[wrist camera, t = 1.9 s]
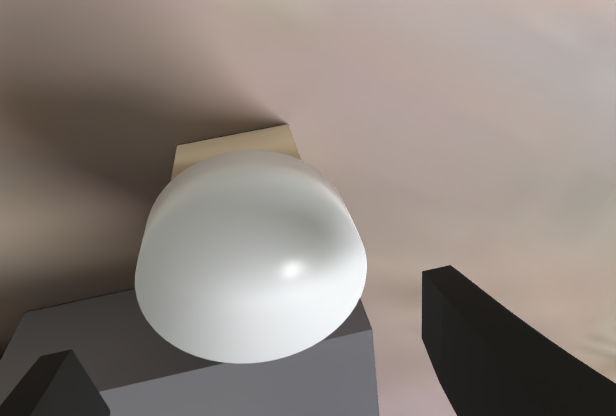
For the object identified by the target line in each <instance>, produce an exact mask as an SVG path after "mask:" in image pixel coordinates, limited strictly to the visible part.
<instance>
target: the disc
mask: <svg viewBox="0 0 616 416" xmlns="http://www.w3.org/2000/svg"><path fill="white" fill-rule="evenodd" d="M366 274H367V260H366V254H365V249H364V246H363V243H362V241H361V238H360V236H359V234H358V231H357V229H356V227H355V225H354V223H353V221H352V218H351V216H350V214H349V212H348V210H347V208H346V205H345V203H344V201H343V199H342V197H341V196H340V194H339V192H338V190H337V189H336V188H335V186H334V185H333V184H332V182H331V181H330V180H329V179H328V178H327V177H325V176H324V175H323V174H322V173H321V172H320V171H318V170H317V169H316V168H314V167H313V166H311V165H309V164H307V163H306V162H304V161H302V160H300V159H297V158H294V157H292V156H289V155H286V154H282V153H278V152H273V151H264V150H240V151H232V152H227V153H223V154H219V155H215V156H212V157H209V158H207V159H204V160H202V161H199V162H198V163H196V164H194V165H192V166H190V167H189V168H187V169H185V170H184V171H183V172H181V173H180V174H179V175H177V176H176V177H175V178H174V179H173V180H172V181H171V182H170V183H169V184H168V185H167V186H166V187H165V188H164V189H163V190H162V192H161V193H160V194H159V196H158V197H157V199H156V201H155V202H154V204H153V206H152V208H151V211H150V214H149V216H148V219H147V223H146V228H145V232H144V236H143V240H142V244H141V248H140V253H139V257H138V261H137V266H136V272H135V291H136V296H137V300H138V303H139V306H140V309H141V311H142V313H143V314H144V316H145V318H146V320H147V321H148V322H149V324H150V325H151V326H152V327H153V329H154V330H155V331H156V332H157V333H158V334H159V335H160V336H161V337H163V338H164V339H165V340H166V341H168V342H169V343H171V344H172V345H174V346H175V347H177V348H179V349H181V350H183V351H185V352H187V353H189V354H192V355H194V356H197V357H200V358H204V359H207V360H212V361H217V362H224V363H235V364H241V363H259V362H266V361H272V360H277V359H280V358H284V357H287V356H290V355H293V354H296V353H298V352H301V351H303V350H305V349H307V348H309V347H311V346H313V345H315V344H316V343H318V342H320V341H321V340H323V339H324V338H326V337H327V336H328V335H330V334H331V333H332V332H334V331H335V330H336V329H337V328H338V327H339V326H340V325H341V324H342V323H343V322H344V321H345V320H346V318H347V317H348V316H349V315H350V314H351V312H352V311H353V309H354V308H355V306H356V304H357V302H358V300H359V298H360V296H361V294H362V291H363V288H364V285H365V280H366Z"/></svg>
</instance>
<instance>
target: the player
mask: <svg viewBox="0 0 616 416" xmlns="http://www.w3.org/2000/svg"><path fill="white" fill-rule="evenodd" d="M70 349H72V350H73V352H74V353H75V355H76V356H77V358H78V360H79V361H80V363H81V364H82V366H83V368H84V369H85V371H86V372H87V374H88V375H89V377H90V379H91V380H92V382H93V383H94V385H95V387H96V388H97V390H98V391H99V393H100V395H101V396H102V398H103V399H104V401H105V402H106V404H107V406H108V407H109V409H110V416H379V407H378V395H377V383H376V370H375V358H374V346H373V334H372V328H371V325H370V323H369V320H368V317H367V315H366V312H365V310H364V307H363V304H362V302H361V299H360V298H359V300H358V302H357V304H356V306H355V308H354V309H353V311H352V312H351V314H350V315H349V316H348V317H347V318H346V320H345V321H344V322H343V323H342V324H341V325H340V326H339V327H338V328H337V329H336V330H335V331H334V332H332V333H331V334H330V335H328V336H327V337H326V338H324V339H323V340H321V341H320V342H318V343H316V344H315V345H313V346H311V347H309V348H307V349H305V350H303V351H301V352H298V353H296V354H293V355H290V356H287V357H284V358H280V359H277V360H272V361H266V362H259V363H241V364H235V363H224V362H217V361H212V360H207V359H204V358H200V357H197V356H194V355H192V354H189V353H187V352H185V351H183V350H181V349H179V348H177V347H175V346H174V345H172V344H171V343H169V342H168V341H166V340H165V339H164V338H163V337H161V336H160V335H159V334H158V333H157V332H156V331H155V330H154V329H153V327H152V326H151V325H150V324H149V322H148V321H147V320H146V318H145V316H144V314H143V313H142V311H141V309H140V306H139V303H138V300H137V296H136V291H135V289H133V290H128V291H123V292H119V293H114V294H109V295H105V296H100V297H95V298H90V299H86V300H81V301H76V302H72V303H67V304H62V305H58V306H53V307H48V308H44V309H39V310H34V311H30V312H25V313H24V314H23V316H22V318H21V320H20V322H19V324H18V326H17V328H16V330H15V332H14V334H13V336H12V338H11V340H10V342H9V344H8V346H7V348H6V350H5V352H4V354H3V356H2V358H1V360H0V405H1V404H2V403H3V402H4V400H5V399H6V398H7V397H8V395H9V394H10V393H11V391H12V390H13V389H14V388H15V386H16V385H17V384H18V383H19V381H20V380H21V379H22V378H23V376H24V375H25V374H26V373H27V372H28V370H29V369H30V368H31V367H32V366H33V364H34V363H35V362H36V361H37V360H38V358H39V357H40V356H43V355H48V354H52V353H57V352H61V351H66V350H70Z"/></svg>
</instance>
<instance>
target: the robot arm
mask: <svg viewBox="0 0 616 416" xmlns="http://www.w3.org/2000/svg"><path fill="white" fill-rule="evenodd" d="M422 340H423V342H424V345H425V347H426V350H427V352H428V355H429V358H430V360H431V363H432V365H433V368H434V370H435V372H436V375H437V377H438V380H439V382H440V384H441V386H442V388H443V390H444V392H445V394H446V396H447V397H448V399H449V401H450V403H451V405H452V407H453V409H454V411H455V412H456V414H457V416H616V383H614V382H613V381H611V380H609V379H608V378H606V377H605V376H603V375H601V374H600V373H598V372H597V371H595V370H594V369H592V368H591V367H589V366H588V365H586V364H584V363H583V362H581V361H580V360H578V359H577V358H575V357H574V356H572V355H571V354H569V353H568V352H566V351H565V350H563V349H562V348H561V347H559V346H558V345H556V344H555V343H553V342H552V341H550V340H549V339H548V338H546V337H545V336H543V335H542V334H541V333H539V332H538V331H536V330H535V329H534V328H532V327H531V326H530V325H528V324H527V323H525V322H524V321H523V320H521V319H520V318H518V317H517V316H516V315H514V314H513V313H512V312H510V311H509V310H508V309H506V308H505V307H504V306H503V305H501V304H500V303H499V302H497V301H496V300H495V299H493V298H492V297H491V296H489V295H488V294H487V293H486V292H484V291H483V290H482V289H480V288H479V287H478V286H477V285H475V284H474V283H473V282H472V281H470V280H469V279H468V278H466V277H465V276H464V275H463V274H461V273H460V272H459V271H458V270H456V269H455V268H453V267H452V266H451V265H449V266H445V267H440V268H436V269H431V270H427V271H422ZM0 416H110V409H109V407H108V406H107V404H106V402H105V401H104V399H103V398H102V396H101V395H100V393H99V391H98V390H97V388H96V387H95V385H94V383H93V382H92V380H91V379H90V377H89V375H88V374H87V372H86V371H85V369H84V368H83V366H82V364H81V363H80V361H79V360H78V358H77V356H76V355H75V353H74V352H73V350H72V349H70V350H66V351H61V352H57V353H52V354H48V355H43V356H40V357H39V358H38V360H37V361H36V362H35V363H34V364H33V366H32V367H31V368H30V369H29V370H28V372H27V373H26V374H25V375H24V376H23V378H22V379H21V380H20V381H19V383H18V384H17V385H16V386H15V388H14V389H13V390H12V391H11V393H10V394H9V395H8V397H7V398H6V399H5V400H4V402H3V403H2V404H1V405H0Z"/></svg>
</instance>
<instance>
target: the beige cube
mask: <svg viewBox="0 0 616 416" xmlns="http://www.w3.org/2000/svg"><path fill="white" fill-rule="evenodd" d="M240 150H264V151H273V152H278V153H282V154H286V155H289V156H292V157H294V158H297V159H300V160H301V158H300V156H299V153H298V150H297V147H296V145H295V142H294V139H293V136H292V133H291V131H290V128H289V125H288V124H286V125H281V126H276V127H271V128H265V129H260V130H255V131H250V132H245V133H239V134H234V135H229V136H224V137H219V138H214V139H208V140H203V141H198V142H193V143H188V144H182V145H177V149H176V154H175V160H174V166H173V171H172V177H171V181H172V180H173V179H174V178H175V177H176V176H177V175H179V174H180V173H181V172H183V171H184V170H185V169H187V168H189V167H190V166H192V165H194V164H196V163H198V162H199V161H202V160H204V159H207V158H209V157H212V156H215V155H219V154H223V153H227V152H232V151H240Z"/></svg>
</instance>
